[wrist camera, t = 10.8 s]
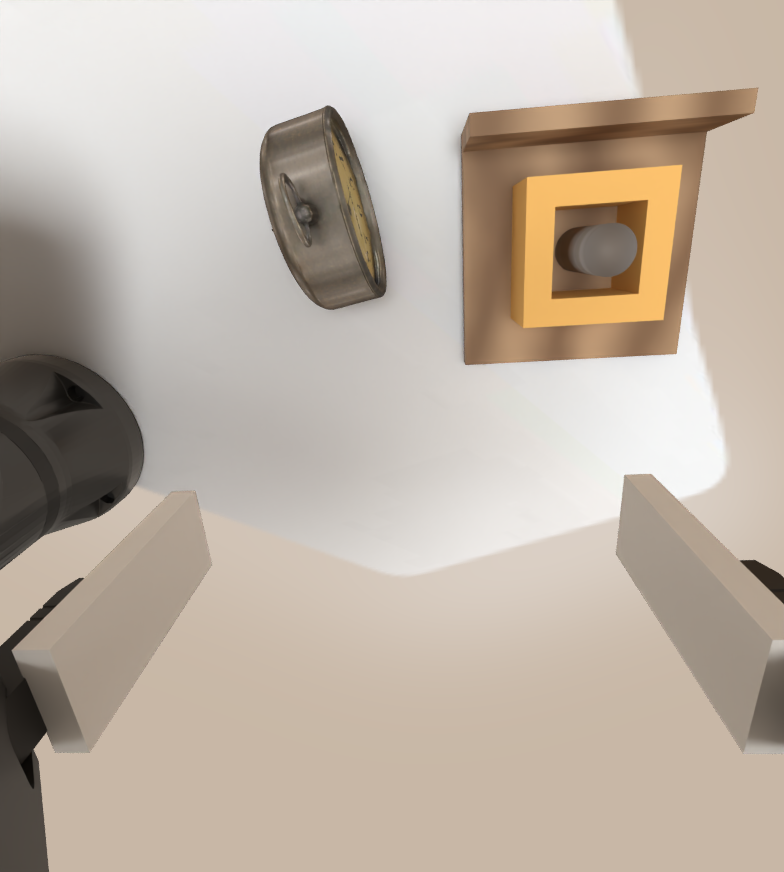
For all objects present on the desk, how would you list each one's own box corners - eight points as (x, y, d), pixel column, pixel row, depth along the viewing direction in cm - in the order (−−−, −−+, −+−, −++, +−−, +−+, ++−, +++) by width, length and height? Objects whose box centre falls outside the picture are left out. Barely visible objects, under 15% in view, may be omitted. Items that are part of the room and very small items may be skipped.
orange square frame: (510, 318, 38) (523, 328, 33) (512, 186, 35) (527, 177, 30) (632, 310, 37) (663, 319, 33) (646, 175, 34) (682, 164, 29)
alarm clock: (394, 286, 39) (378, 312, 24) (328, 304, 39) (271, 341, 24) (354, 129, 35) (304, 41, 20) (282, 153, 36) (182, 84, 21)
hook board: (464, 361, 40) (474, 388, 33) (461, 135, 35) (472, 103, 27) (669, 350, 39) (729, 376, 32) (700, 115, 34) (782, 76, 26)
